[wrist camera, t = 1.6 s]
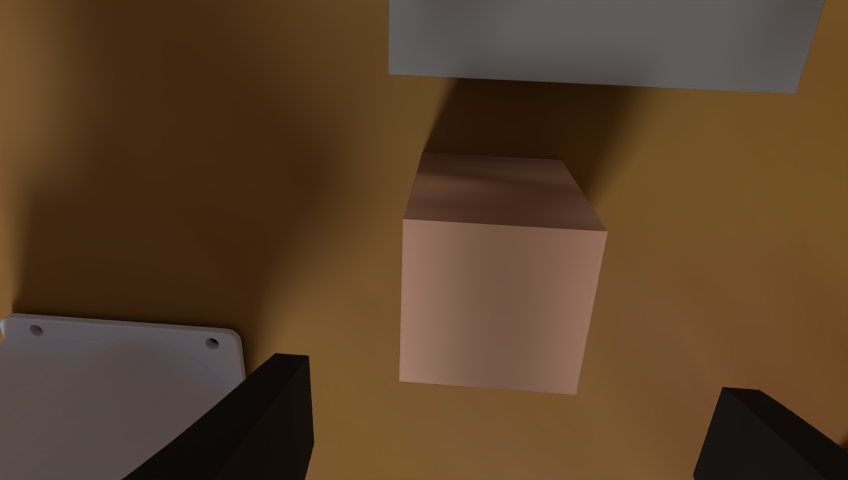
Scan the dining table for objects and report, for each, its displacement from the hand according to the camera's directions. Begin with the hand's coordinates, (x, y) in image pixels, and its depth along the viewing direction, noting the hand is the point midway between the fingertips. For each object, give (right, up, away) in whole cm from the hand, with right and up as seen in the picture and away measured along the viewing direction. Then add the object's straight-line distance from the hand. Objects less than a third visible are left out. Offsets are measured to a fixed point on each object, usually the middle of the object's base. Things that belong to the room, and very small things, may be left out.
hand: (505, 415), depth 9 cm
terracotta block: (+1, +4, +9) cm, 10 cm away
